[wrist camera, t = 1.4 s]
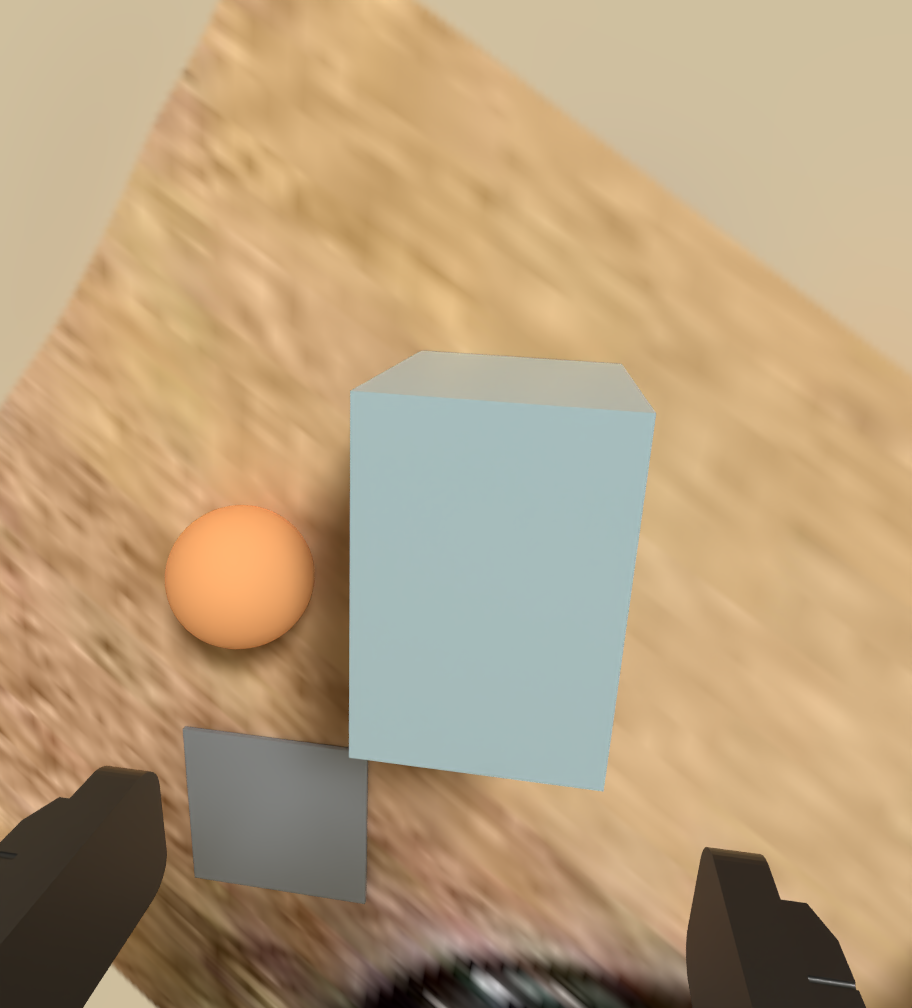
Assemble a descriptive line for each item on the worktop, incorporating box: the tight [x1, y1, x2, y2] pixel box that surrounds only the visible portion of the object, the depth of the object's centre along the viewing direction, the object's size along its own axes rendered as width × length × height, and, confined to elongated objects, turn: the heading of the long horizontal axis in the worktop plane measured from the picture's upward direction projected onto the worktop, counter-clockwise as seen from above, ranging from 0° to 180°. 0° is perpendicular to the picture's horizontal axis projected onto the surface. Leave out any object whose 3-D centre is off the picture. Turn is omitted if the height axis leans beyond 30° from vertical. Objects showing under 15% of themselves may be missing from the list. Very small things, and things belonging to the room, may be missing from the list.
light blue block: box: [349, 351, 656, 791], centre depth 21 cm, size 7×10×9 cm
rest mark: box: [183, 726, 368, 904], centre depth 31 cm, size 8×8×1 cm
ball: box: [165, 505, 314, 649], centre depth 25 cm, size 5×5×5 cm
